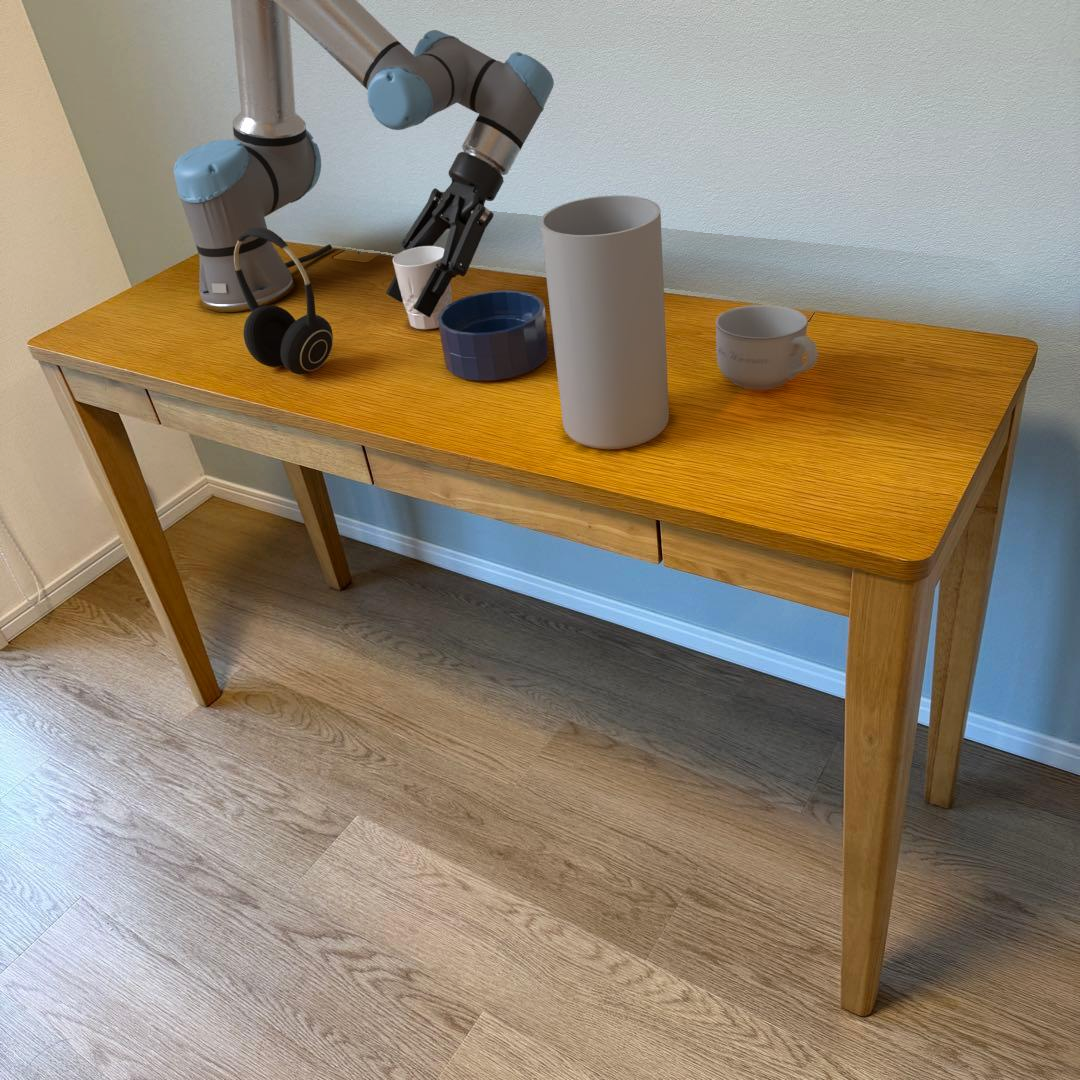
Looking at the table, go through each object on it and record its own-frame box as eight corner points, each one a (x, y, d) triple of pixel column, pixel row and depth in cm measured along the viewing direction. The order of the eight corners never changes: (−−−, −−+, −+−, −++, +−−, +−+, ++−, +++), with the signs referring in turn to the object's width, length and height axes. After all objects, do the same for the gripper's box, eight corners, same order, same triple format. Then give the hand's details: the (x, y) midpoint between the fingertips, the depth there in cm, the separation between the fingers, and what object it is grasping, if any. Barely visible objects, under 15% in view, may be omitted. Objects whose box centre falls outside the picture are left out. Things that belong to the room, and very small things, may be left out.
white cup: (429, 306, 154) (417, 243, 149) (468, 314, 150) (457, 249, 144) (394, 326, 150) (381, 262, 144) (434, 335, 145) (421, 268, 140)
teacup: (699, 374, 127) (698, 314, 122) (772, 351, 129) (774, 292, 125) (761, 419, 116) (763, 356, 111) (840, 393, 119) (844, 330, 114)
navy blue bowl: (457, 339, 144) (449, 293, 139) (555, 335, 141) (550, 287, 137) (436, 386, 132) (427, 337, 128) (542, 381, 130) (536, 331, 126)
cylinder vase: (542, 434, 119) (515, 225, 104) (607, 390, 126) (591, 189, 111) (625, 463, 111) (609, 243, 97) (690, 415, 118) (684, 204, 104)
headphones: (310, 391, 135) (271, 246, 124) (240, 371, 143) (196, 233, 131) (355, 364, 141) (321, 223, 129) (284, 346, 148) (246, 212, 137)
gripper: (541, 190, 139) (462, 335, 142) (463, 166, 154) (393, 299, 156) (504, 161, 134) (423, 312, 137) (428, 139, 148) (355, 276, 151)
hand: (407, 305), depth 146 cm, fingers closed on white cup, 8 cm apart
